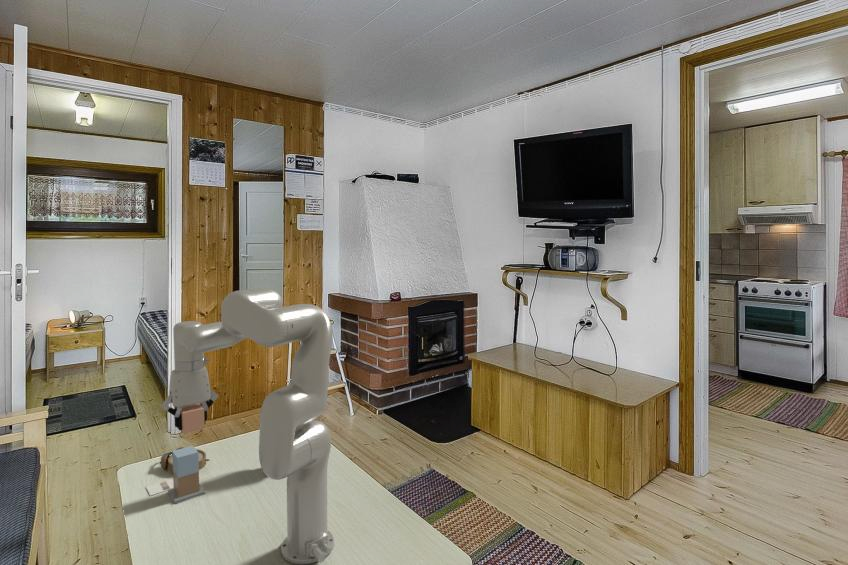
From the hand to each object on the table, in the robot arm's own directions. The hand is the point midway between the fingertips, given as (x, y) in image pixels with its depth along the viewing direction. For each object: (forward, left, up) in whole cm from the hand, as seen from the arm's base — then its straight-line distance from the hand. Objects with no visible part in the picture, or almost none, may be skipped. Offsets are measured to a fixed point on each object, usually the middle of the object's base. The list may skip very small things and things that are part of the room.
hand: (191, 425), depth 134 cm
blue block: (+2, +1, -14) cm, 15 cm away
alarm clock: (+21, -2, -22) cm, 30 cm away
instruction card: (+10, +5, -21) cm, 24 cm away
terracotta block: (0, 0, -1) cm, 1 cm away
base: (+2, +1, -21) cm, 21 cm away
